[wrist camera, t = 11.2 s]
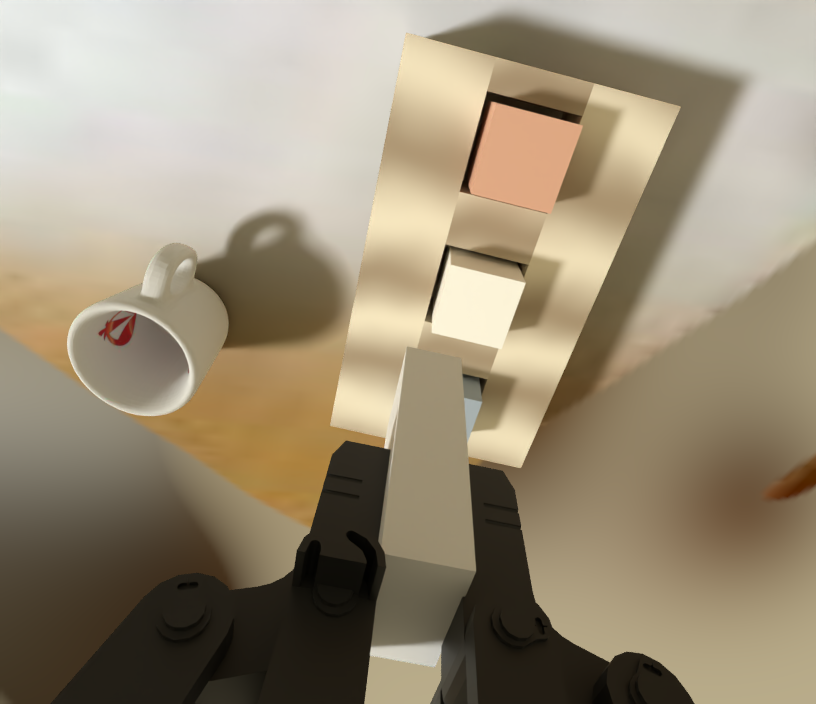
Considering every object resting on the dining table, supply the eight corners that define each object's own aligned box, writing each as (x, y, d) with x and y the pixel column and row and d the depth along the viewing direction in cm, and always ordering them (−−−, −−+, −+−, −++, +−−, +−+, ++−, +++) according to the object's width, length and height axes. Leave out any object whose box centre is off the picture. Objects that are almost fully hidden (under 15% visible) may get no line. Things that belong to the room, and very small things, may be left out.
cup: (150, 204, 34) (73, 235, 27) (264, 250, 35) (218, 291, 28) (130, 335, 38) (60, 391, 31) (230, 372, 39) (184, 434, 32)
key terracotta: (488, 100, 27) (496, 102, 23) (561, 120, 28) (583, 125, 23) (466, 178, 29) (471, 193, 25) (535, 196, 29) (550, 214, 25)
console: (411, 41, 28) (406, 32, 24) (644, 103, 29) (681, 106, 25) (342, 388, 39) (330, 425, 35) (511, 426, 40) (520, 468, 36)
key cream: (449, 240, 31) (450, 264, 27) (514, 256, 31) (525, 282, 27) (432, 301, 33) (431, 332, 29) (493, 316, 33) (501, 349, 29)
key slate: (419, 350, 35) (416, 387, 30) (477, 364, 35) (482, 402, 31) (405, 399, 37) (401, 439, 32) (460, 411, 37) (463, 453, 33)
